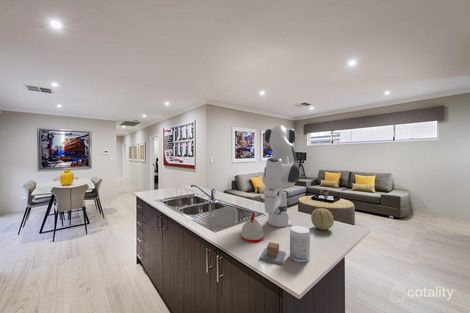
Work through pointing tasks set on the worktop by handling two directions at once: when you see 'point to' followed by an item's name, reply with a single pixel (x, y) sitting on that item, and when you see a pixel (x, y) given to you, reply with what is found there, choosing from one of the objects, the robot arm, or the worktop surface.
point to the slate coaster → (272, 259)
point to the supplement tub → (300, 243)
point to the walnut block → (273, 249)
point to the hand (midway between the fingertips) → (273, 217)
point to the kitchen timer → (252, 231)
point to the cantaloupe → (322, 218)
